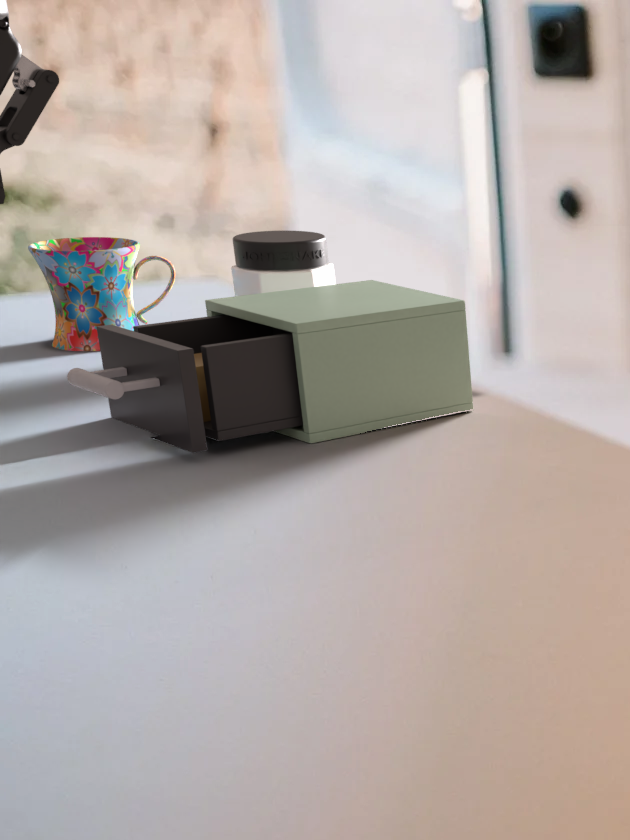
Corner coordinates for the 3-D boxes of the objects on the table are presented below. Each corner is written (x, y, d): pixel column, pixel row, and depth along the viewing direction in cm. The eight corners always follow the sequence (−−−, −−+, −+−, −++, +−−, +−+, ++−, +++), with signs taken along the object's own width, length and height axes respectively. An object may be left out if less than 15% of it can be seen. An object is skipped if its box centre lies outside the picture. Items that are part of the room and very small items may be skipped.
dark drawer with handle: (137, 463, 119) (120, 358, 116) (57, 433, 126) (40, 333, 123) (363, 420, 132) (353, 325, 130) (280, 394, 139) (268, 304, 136)
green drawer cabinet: (310, 443, 129) (296, 323, 125) (220, 413, 136) (204, 299, 133) (473, 411, 140) (465, 300, 137) (382, 385, 148) (372, 279, 144)
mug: (47, 369, 149) (26, 253, 145) (47, 350, 156) (28, 238, 152) (189, 361, 154) (173, 248, 150) (183, 342, 161) (168, 234, 158)
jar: (246, 375, 149) (228, 243, 145) (242, 357, 156) (225, 231, 152) (348, 369, 153) (334, 241, 148) (340, 352, 160) (326, 229, 155)
